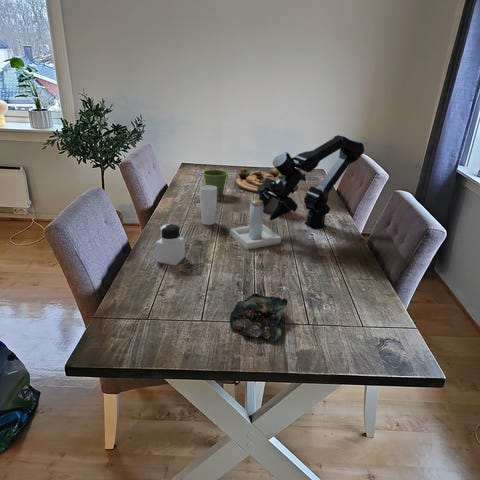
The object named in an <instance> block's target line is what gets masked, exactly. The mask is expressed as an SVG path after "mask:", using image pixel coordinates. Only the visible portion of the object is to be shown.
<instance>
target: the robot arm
mask: <svg viewBox="0 0 480 480" xmlns="http://www.w3.org/2000/svg"><path fill="white" fill-rule="evenodd" d="M337 151H339V156H338V158H337V159H336V161H335V162H334V163H333V165H332V167H331V168H330V169H329V170H328V171H327V173H326V174H325V176H324V177H323V179H322V180H321V182H320V183H319V184H318V185H317V186H316V187H314V186H312V185H311V187H310V188H309V189H308V191H307V192H305V196H304V197H303V200H304V201H303V202H304V205H305V209H307V210H308V213H307V217H306V221H305V222H304V224H305V225H307V226H308V227H310V228H312V229H315V230H316V229H321V228H326V227H327V224H325V222H326V221H325V220H326V215H328V214H330V213H329V212H330V211H331V208H330V206H329V205H328V204H327V203H328V201H329V196H330V195H329V194H330V192H331V190H332V189H333V188H334V186H335V185H336V183H338V181H339V179H341V177H342V175H343V174H344V172H345V171H346V170H347V169H348V167H349V166H350V165H351V164H352V163H354V162H356V161H358V160H359V159H360V158H361V157H362V155H364V152H365V147H364V144H363V142H359V141H355V140H351V139H349V138H347V137H346V136H343V135H338V134H337V135H335V136H333V137H332V138H331V139H329V140H328V141H326V142H324V143H323V144H321V145H320V146H318V147H316V148H314V149H313V150H309V151H304V152H301V153H298V154H296V156H294V157H291V155H290V153H289V152H287V151H284V152H282V153H280V154H278V155H276V156H275V157H274V159H273V160H272V166H273V167H275V168H276V169H277V170H278V171H279V173H280V174H281V175H283V176H284V177H283V178H282V180H281V179H278V180H276V181H274V180H272V179H269V178H267V177H266V179H265V182H264V184H263V185H260V186H259V187H258V188H257V190H258V193H259V194H258V193H257V194H258V197H259V198H258V199H259V200H262V201H263V204H264V206H263V208H264V207H265V206H266V205H267V204H268V203H269V202H270V201H269V200H271V199H272V198H273V199H275V200H277V201H278V207H277V208H276V209H275V211H274V212H273V214H270V217H269V221H270V222H271V221H273V220H276V219H278V218H279V217H282V216H284V215H286V214H289V213H292V212H293V213H295V212H296V210H297V209H298V203H296V201H294V199H293V198H292V197H290V196H289V195H291V194H294V193H295V191H296V190H293V189H294V188H295V187H296V185H298V184H299V183H300V182H301V181H302V182H306V181H307V178H306V176H307V175H306V173H311V172H312V171H314V170H315V169H316V168H317V167H318V166H319V163H320V162H321V161H323V160H324V159H326V158H327V157H329V156H331V155H332V154H334V153H336V152H337ZM302 171H303V172H306V173H303V172H302ZM266 186H267V187H266ZM269 188H270V189H269ZM296 188H297V187H296Z"/></svg>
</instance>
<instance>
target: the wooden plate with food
mask: <svg viewBox="0 0 480 480" xmlns="http://www.w3.org/2000/svg"><path fill="white" fill-rule="evenodd" d="M266 177H267V178H273V177H274V178H279V179H282V178H283V177H284V176H283V175H281V174H280V173H279V171H278V170H277V169H276V168H275V167H274V166H273V167H271V168H270V170H269V173H267V172H264V171H263V172H261V171H259V170H255V171H252V172H251V173H250V170H248V169H247V168H245V167H243V168H241V169H240V170H239V172H238V177H237V178H236V179H235V185H236V186H237V187H238V188H239V189H241V190H243V191H246V192H248V193H253V194H258V195H259V193H258V190H257V188H258V187H259V186H260V185H262V181H263V179H264V178H266ZM297 185H298V184H297ZM297 185H296V187H295V188H294V189H293V190H294V191H296V189H297Z"/></svg>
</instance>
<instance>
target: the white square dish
mask: <svg viewBox="0 0 480 480" xmlns="http://www.w3.org/2000/svg"><path fill="white" fill-rule="evenodd" d="M229 236H230V237H231V238H233V239H234V240H235V241H236V242H237V243H238V244H239V245H241V247H243V248H244V249H246V251H247V250H254V249H257V248H258V249H259V248H264V247H268V246H275V245H280V244H282V243H281V242H282V237H281V236H280V235H279V234H277V233H276V232H274V231H273V230H271V229H270V228H269V227H268V226H266V225H264V224H263V223H262V237H261V239H259V240H252V239H250V238H249V225H247V226H241V227H235V228H234V227H233V228H230V229H229Z"/></svg>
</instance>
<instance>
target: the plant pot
mask: <svg viewBox="0 0 480 480" xmlns="http://www.w3.org/2000/svg"><path fill="white" fill-rule="evenodd" d="M228 174H229V173H228V171H226V170H222V169H207V170H204V171H203V172H202V175H204V177H203V178H204V179H205V185H212V186H216V187H217V198H221V197H222V196H223V194H224V189H225V184H226V179H227V175H228Z"/></svg>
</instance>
